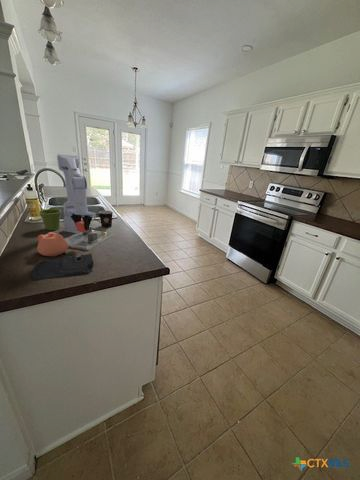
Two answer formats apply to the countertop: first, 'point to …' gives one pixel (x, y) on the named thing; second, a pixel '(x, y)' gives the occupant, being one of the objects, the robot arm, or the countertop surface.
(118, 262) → the countertop surface
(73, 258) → the dark slate chunk
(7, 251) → the countertop surface
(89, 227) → the breaker
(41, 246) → the sugar bowl
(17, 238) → the countertop surface
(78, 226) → the red cube
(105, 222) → the coffee mug
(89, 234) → the block
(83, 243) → the breaker panel
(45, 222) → the plant pot
